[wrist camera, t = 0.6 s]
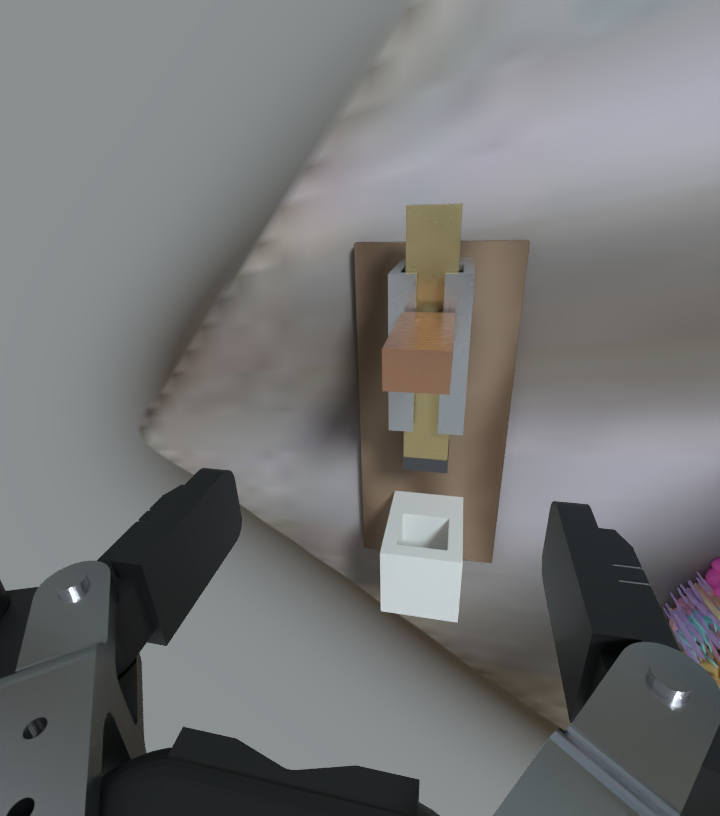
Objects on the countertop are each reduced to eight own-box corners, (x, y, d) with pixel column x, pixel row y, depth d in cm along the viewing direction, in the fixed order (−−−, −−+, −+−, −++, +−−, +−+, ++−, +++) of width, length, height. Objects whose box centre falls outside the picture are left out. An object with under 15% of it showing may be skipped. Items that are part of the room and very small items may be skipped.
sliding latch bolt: (463, 203, 27) (461, 209, 17) (448, 450, 34) (441, 560, 24) (411, 204, 28) (379, 211, 18) (407, 447, 35) (383, 553, 25)
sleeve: (473, 257, 31) (474, 274, 25) (463, 391, 36) (462, 435, 29) (403, 257, 32) (387, 274, 26) (402, 387, 37) (388, 430, 30)
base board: (527, 239, 31) (529, 241, 30) (491, 555, 43) (491, 563, 42) (356, 242, 34) (353, 243, 33) (366, 540, 45) (364, 547, 44)
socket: (463, 497, 40) (462, 563, 33) (459, 550, 42) (457, 622, 35) (394, 490, 41) (379, 552, 34) (394, 543, 43) (380, 610, 36)
